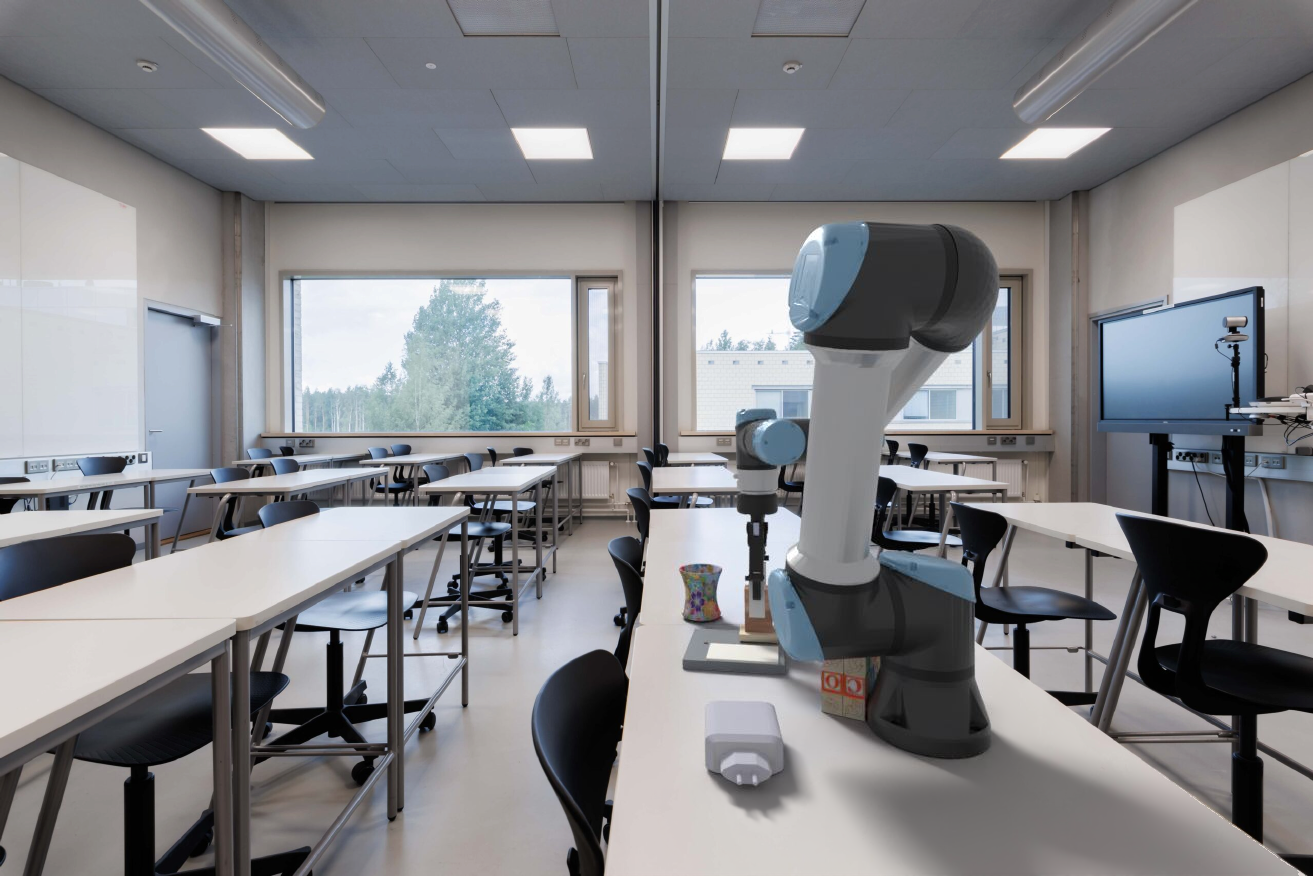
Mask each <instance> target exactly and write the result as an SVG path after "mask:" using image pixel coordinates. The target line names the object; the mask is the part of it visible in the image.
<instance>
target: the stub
mask: <svg viewBox="0 0 1313 876" xmlns="http://www.w3.org/2000/svg"><path fill="white" fill-rule="evenodd" d="M743 595H744V623H740V627H739V631H740V632H739V641H750V642H769V643H778V636H777V634H776V630H775V627H774V624H773V620H772V616H771V611H770V606H769V599H768V584H766V585H765V618H754V617H749V584H745V585H744V594H743Z"/></svg>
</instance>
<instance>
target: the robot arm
mask: <svg viewBox="0 0 1313 876" xmlns="http://www.w3.org/2000/svg"><path fill="white" fill-rule="evenodd" d="M1000 283H1001V282H1000V273H999V267H998V264H997V262H996V259H995V256H994V254H993V252H992V251H991V250H990V248H989V247H988V246H987V243H985V242H984V240H982V239H981V238H980V237H979V236H977V235H976V234H975V233H974V232H972V231H970V230H968V229H966V228H963V227H961V226H958V225H954V224H947V223H931V224H928V223H927V224H926V223H924V224H923V223H902V222H900V223H899V222H882V221H880V222H879V221H877V222H876V221H859V220H856V221H852V222H851V221H848V222H847V221H846V222H831V223H826V224H823V225H820V226H819V227H817V228H816V229H815V230H813V232H811V234H809V236H808V237H807V238H806V240H805V241H804V243H803V245H802V247H801V248H800V250H799V251H798V254H797V257H796V260H795V263H794V266H793V270H792V272H791V278H790V282H789V288H788V296H787V297H788V298H787V299H788V300H787V305H788V307H789V311H788V315H789V321H790V322H791V325H792V326H793V327H794V329H796V330H798V331H800V332H802V333H803V342H802V343H803V347H805V349H806V350H807V351H808V352H809V353H810V355H812V356H813V359H814V365H813V366H814V367H813V368H814V369H813V380H812V392H811V393H812V394H811V401H810V402H811V405H810V414H809V415H810V416H809V418H777V417H778V416H777V411H776V410H775V409H774V408H741V409H739V410H737V412H736V414H735V416H736V417H735V426H734V430H735V456H736V460H735V461H736V463H735V464H736V473H733V476H732V478H733V479H734V480H736V489H737V491H739V492H738V493H737V494H736V512H738V513H739V514H740V515H748V516H750V521H746V527H745V530H746V534H747V537H746V541H747V547H748V575H745V576H744V581H745V582H748V585H749V617H754V618H765V585H768V599H769V606H770V611H771V616H772V620H773V625H774V627H775V630H776V634H777V636H778V639H779V641H780V643H781V645H782V647H783V649H784V653H785V654H786V655H788V657H790V658H791V659H792V660H795V661H799V662H807V661H808V662H809V661H810V662H819V663H822V662H824V660H838V659H853V658H868V657H880V667H879V670H878V673H877V676H876V679H875V682H874V685H873V688H872V691H871V693H870V696H869V699H868V703H867V718H866V720H867V725H868V726H869V728H870V730H871V731H872V732H873V733H874V734H876V736H878V737H879V738H880V739H883V740H884V741H886V742H887V743H888V744H889V743H890V745H893V746H894V747H898V748H899V749H903V750H905V751H907V752H912V753H915V754H919V755H924V756H929V757H937V758H947V759H948V758H949V759H954V758H955V759H956V758H959V759H960V758H966V757H967V758H968V757H972V756H977V755H979V754H981V753H983V752H985V751H986V750H987V749H988V748H989V747H990V745H991V742H992V737H991V735H992V734H991V733H992V730H991V729H992V728H991V720H990V718H989V717H990V716H989V714H988V712H987V708H986V706H985V705H986V704H985V703H984V700H983V697H982V694H981V692H980V691H981V690H980V689H979V686H978V683H977V680H976V668H975V667H976V654H975V653H976V643H975V642H976V640H975V639H976V637H975V636H976V634H975V633H976V632H975V631H976V630H975V629H976V627H975V626H976V625H975V622H976V621H975V620H976V619H975V612H976V611H975V609H976V608H975V604H976V603H977V598H976V594H975V593H976V592H975V583H974V576H973V574H972V572H971V570H970V569H969V568H968V567H967V566H966V565H963V564H961V563H959V562H957V561H954V560H951V559H946V558H944V557H939V556H934V555H929V554H924V553H918V552H911V551H900V550H886V551H882V552H879V555H878V558H876V557H875V556H874V555H873V554H872V553H871V540H872V534H873V524H874V518H875V517H874V516H875V509H876V500H877V493H878V484H879V475H880V467H881V460H882V454H883V448H884V447H885V443H886V435H885V429H886V428H887V426H888V425H889V424H890V423H891V422H892V420H893V419H895V418H896V417H897V416H898V415H899V413H900V412H901V411H902V409H903V408H904V407H905V406H906V405H907V404H908V403H909V402H910V400H912V398H913V397H914V396H915V395H916V394H917V392H918V391H920V390H921V388H922V387H923V386H924V385H925V383H926V382H927V381H928V380H929V379H930V378H931V377H932V376H933V374H934V373H935V372H936V371H937V370H938V369H939V368H940V367H941V366H942V364H943V363H944V362H945V361H946V360H947V359H948V358H949V357H950V355H952V354H953V355H954V354H958V353H960V352H963V351H964V350H966V349H967V348H968V347H970V346H971V344H972V343H973V342H974V341H975V340H976V339H977V338H978V337H979V335H980V334H981V333H982V332H983V330H984V329H985V328H986V326H987V325H988V324H989V322H990V319H991V317H992V316H993V314H994V312H995V309H996V307H997V304H998V303H997V302H998V299H999V296H1000V295H999V294H1000V288H1001V287H1000ZM791 464H805V469H804V471H805V472H804V482H803V483H804V485H803V495H802V508H801V516H800V517H801V518H800V527H799V529H800V530H799V531H800V532H799V538H798V539H799V540H798V542H796V543H794V544H793V545H792V546H790V547H789V548H788V549H787V552H786V555H785V566H784V568H776V569H773V570H772V571H771V572H770V573H769V575H768V579H767V562H770V555H767V551H766V547H767V546H768V545H767V544H768V543H767V542H768V541H767V540H768V534H769V522H768V521H765V519H766V518H765V517H766V516H770V515H771V516H772V515H775V514H777V512H778V510H779V506H778V502H779V499H778V498H779V497H778V495H779V494H777V493H776V492H777V490H778V489H779V482H778V481H779V473H778V471H779V470H778V466H787V465H791Z"/></svg>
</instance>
